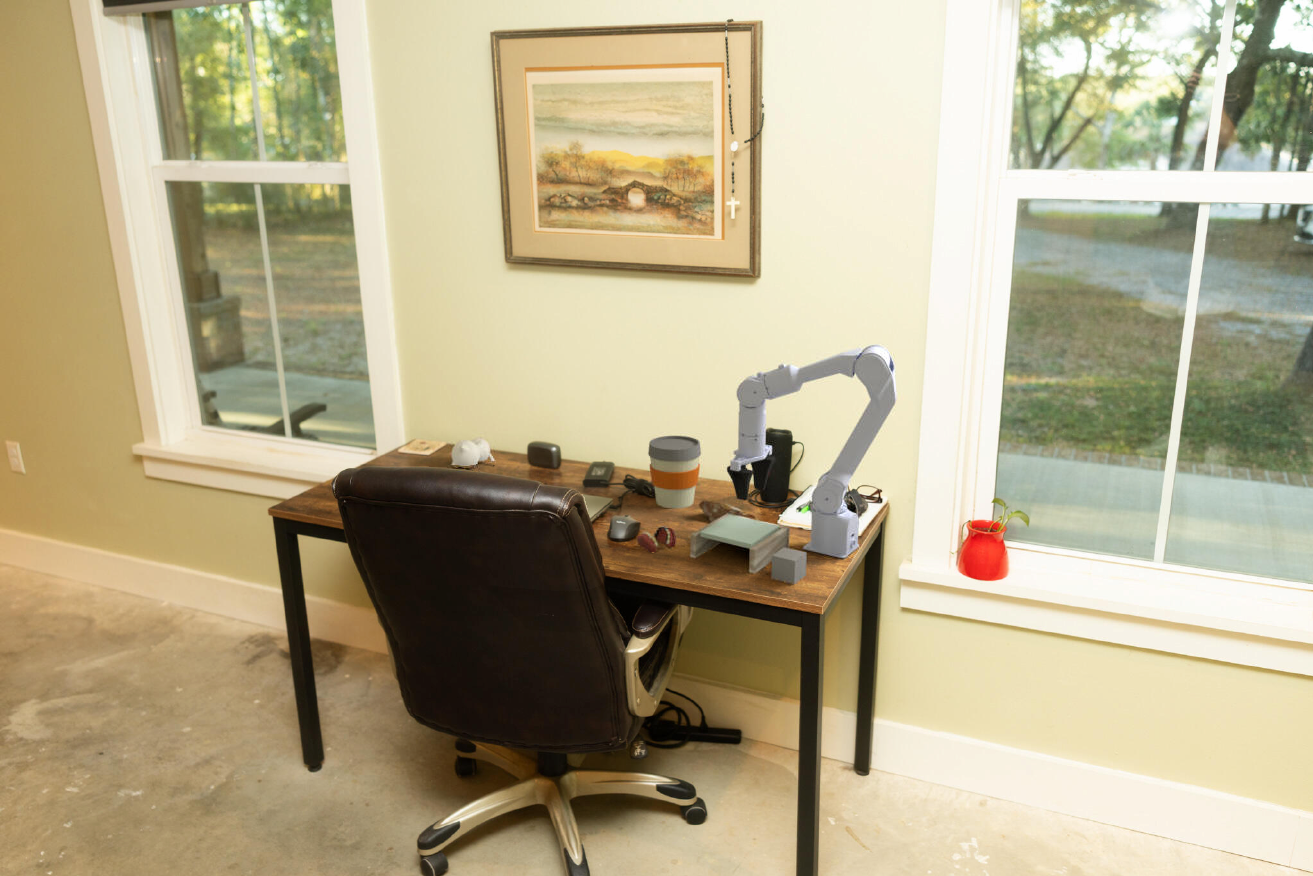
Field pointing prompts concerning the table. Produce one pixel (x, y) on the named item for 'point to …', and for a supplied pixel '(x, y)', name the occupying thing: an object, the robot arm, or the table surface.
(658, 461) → the reusable coffee cup
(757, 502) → the table surface
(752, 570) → the frame
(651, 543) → the dentures model
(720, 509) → the decorative stone
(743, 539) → the trapdoor
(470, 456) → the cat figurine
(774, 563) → the granite block
